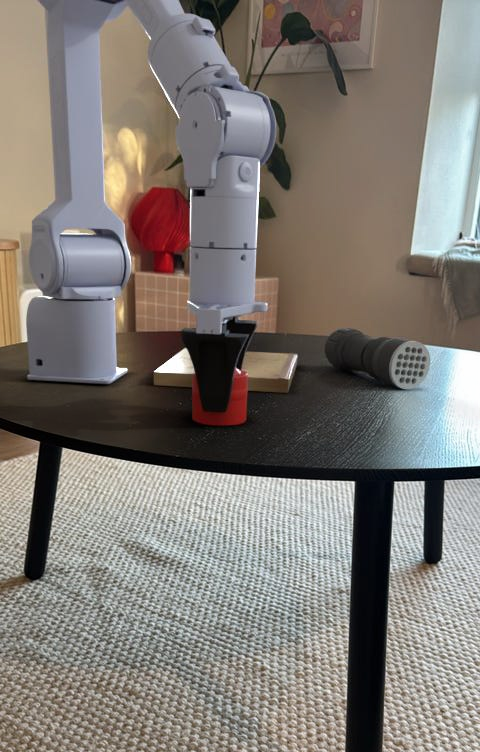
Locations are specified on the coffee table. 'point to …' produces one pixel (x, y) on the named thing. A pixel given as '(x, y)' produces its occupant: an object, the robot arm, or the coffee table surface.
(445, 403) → the coffee table surface
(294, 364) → the board
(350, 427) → the coffee table surface
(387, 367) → the flashlight
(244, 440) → the coffee table surface
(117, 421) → the coffee table surface
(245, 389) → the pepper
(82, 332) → the robot arm
